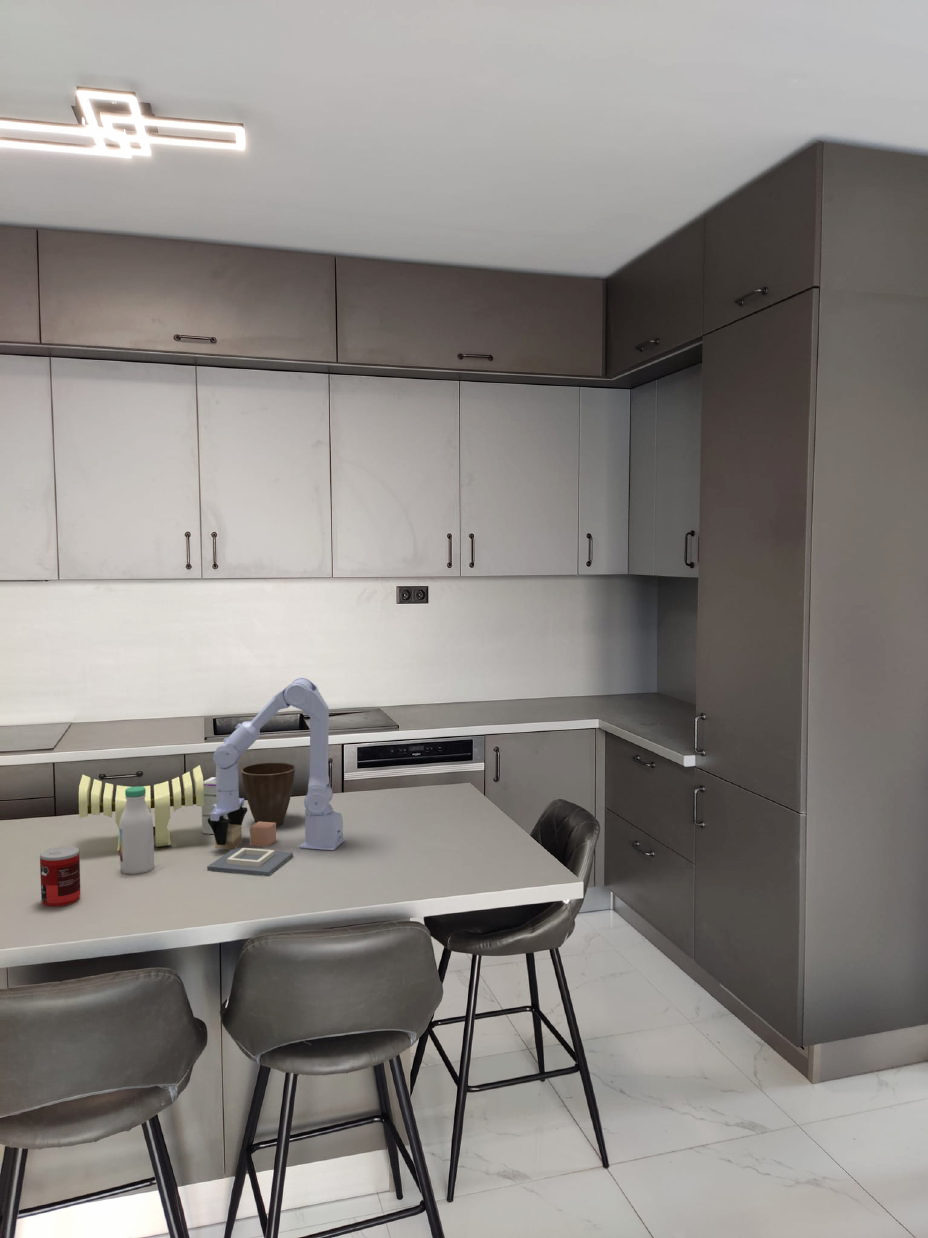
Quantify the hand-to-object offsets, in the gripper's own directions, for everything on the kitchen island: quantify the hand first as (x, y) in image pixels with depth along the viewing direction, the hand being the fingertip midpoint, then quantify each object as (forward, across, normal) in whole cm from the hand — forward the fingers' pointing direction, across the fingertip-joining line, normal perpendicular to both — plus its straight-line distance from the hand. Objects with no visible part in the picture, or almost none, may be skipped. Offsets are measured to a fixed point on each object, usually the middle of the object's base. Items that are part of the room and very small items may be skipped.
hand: (228, 840), depth 229 cm
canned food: (+2, +42, -18) cm, 46 cm away
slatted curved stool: (+2, +3, -23) cm, 23 cm away
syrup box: (+2, -10, -9) cm, 14 cm away
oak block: (+2, 0, 0) cm, 2 cm away
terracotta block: (+2, -4, +8) cm, 9 cm away
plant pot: (+2, -20, +2) cm, 20 cm away
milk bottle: (+2, +21, -13) cm, 25 cm away
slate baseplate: (+2, +11, +12) cm, 16 cm away
